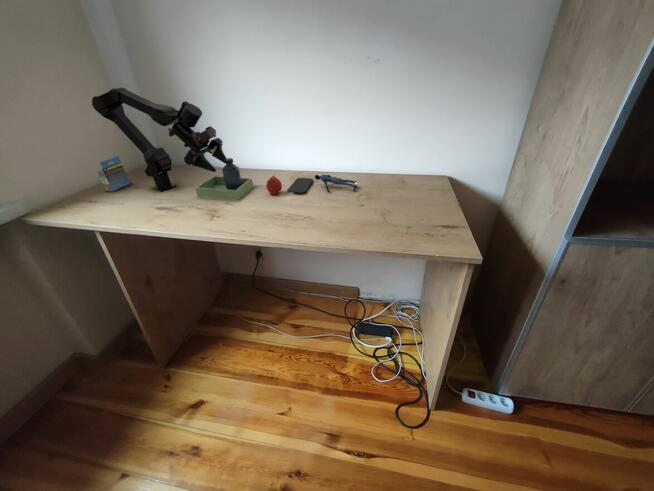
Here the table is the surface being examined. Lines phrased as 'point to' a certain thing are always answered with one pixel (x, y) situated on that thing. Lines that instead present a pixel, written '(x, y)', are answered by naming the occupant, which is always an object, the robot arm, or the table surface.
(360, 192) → the table surface
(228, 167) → the bottle
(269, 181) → the onion
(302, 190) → the phone
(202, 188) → the bin
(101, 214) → the table surface
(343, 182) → the person figurine
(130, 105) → the robot arm
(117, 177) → the tape cartridge
